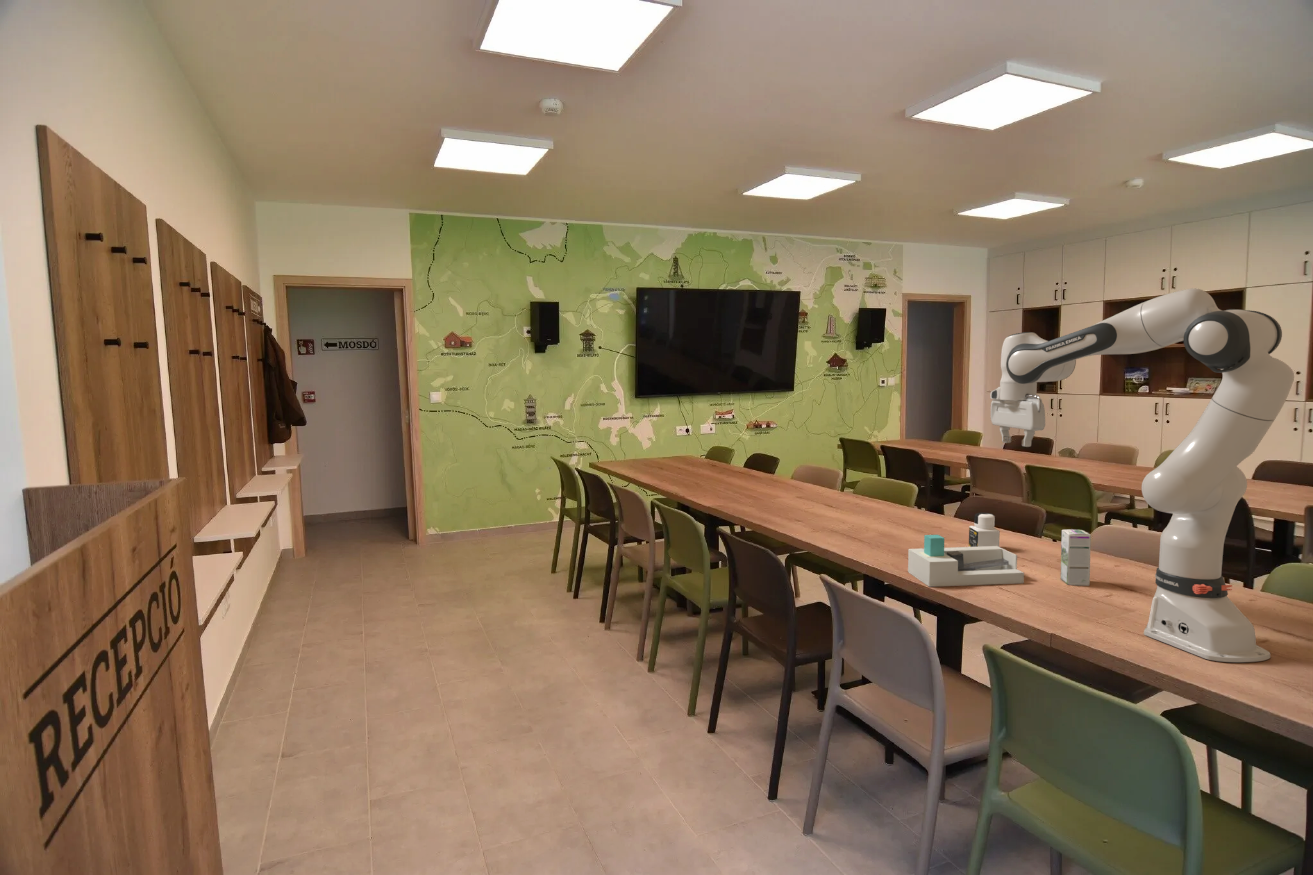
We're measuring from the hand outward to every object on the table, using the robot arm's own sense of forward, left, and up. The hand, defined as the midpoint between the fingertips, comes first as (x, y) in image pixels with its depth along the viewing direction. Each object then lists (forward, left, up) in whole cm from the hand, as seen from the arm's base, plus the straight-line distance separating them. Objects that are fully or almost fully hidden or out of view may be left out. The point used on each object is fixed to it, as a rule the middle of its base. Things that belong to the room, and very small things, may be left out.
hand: (1016, 444), depth 189 cm
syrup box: (0, -18, -39) cm, 43 cm away
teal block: (+8, +18, -32) cm, 38 cm away
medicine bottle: (+37, -12, -39) cm, 55 cm away
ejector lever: (+8, +5, -36) cm, 37 cm away
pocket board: (+8, +10, -39) cm, 41 cm away
